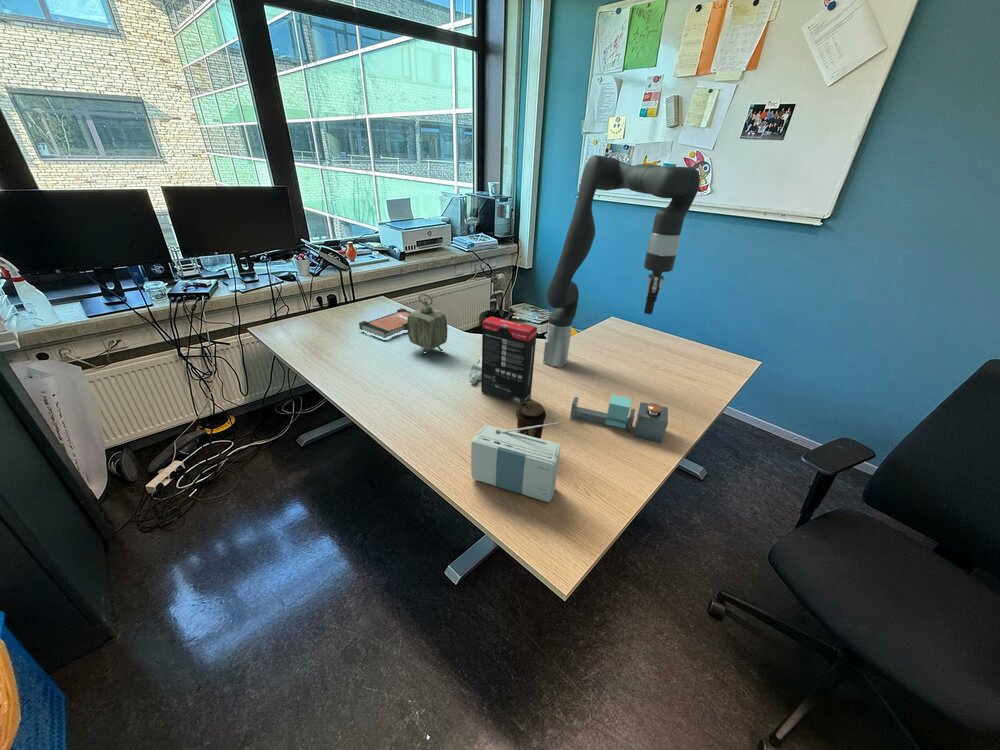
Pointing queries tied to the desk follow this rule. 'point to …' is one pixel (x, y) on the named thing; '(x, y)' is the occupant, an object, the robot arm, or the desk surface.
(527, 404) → the coffee cup
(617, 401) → the carriage
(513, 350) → the graphics card box
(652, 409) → the plunger
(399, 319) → the book
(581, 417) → the rail
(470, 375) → the male figure
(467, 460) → the desk surface
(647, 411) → the grey cube with hole
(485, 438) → the stereo radio cassette player
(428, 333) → the tabletop clock
